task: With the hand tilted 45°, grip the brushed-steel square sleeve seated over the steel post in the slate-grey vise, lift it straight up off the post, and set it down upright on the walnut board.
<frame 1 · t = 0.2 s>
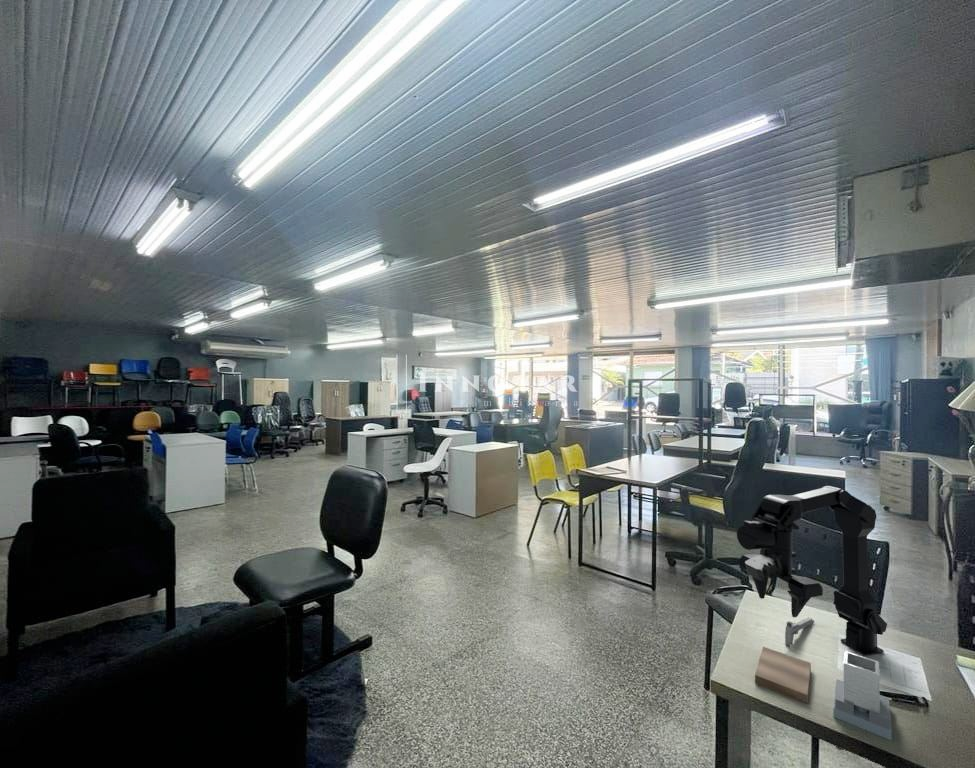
hand: (777, 607, 107), 14 cm above the table, tool pointing down, fingers open, 9 cm apart
caliper: (800, 634, 120), on the table
steel sleeve: (861, 699, 89), point 4 cm above the table, touching vise
walnut board: (783, 676, 102), on the table
vise: (861, 718, 89), on the table
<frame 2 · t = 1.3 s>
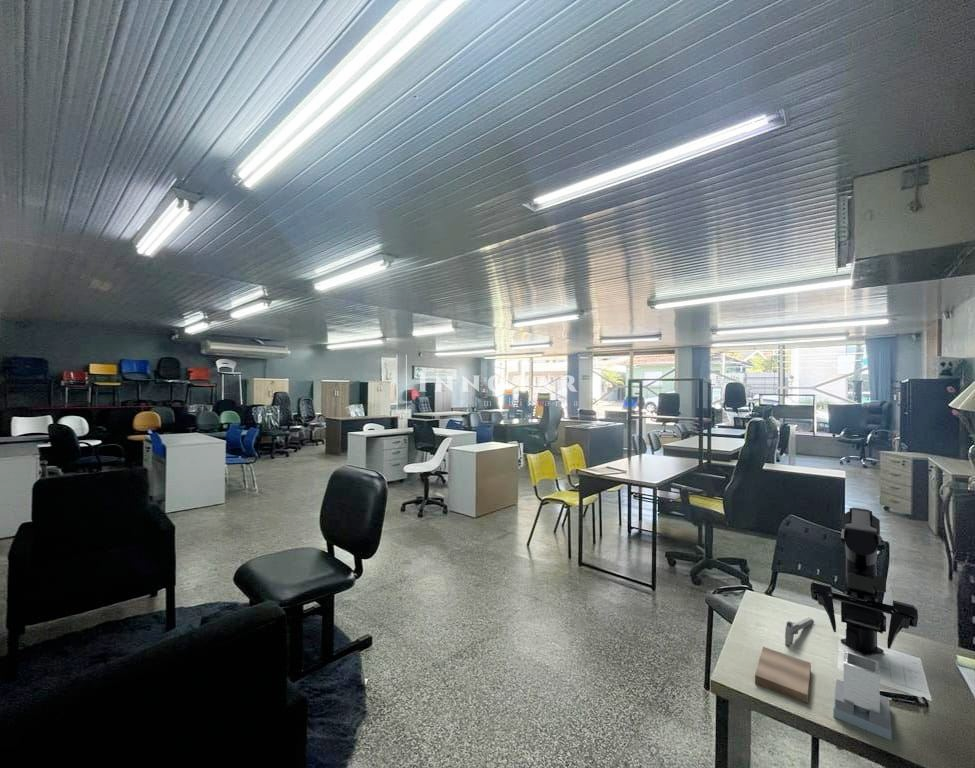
hand: (860, 639, 95), 13 cm above the table, tool tilted 45°, fingers open, 9 cm apart
nothing on the table moved.
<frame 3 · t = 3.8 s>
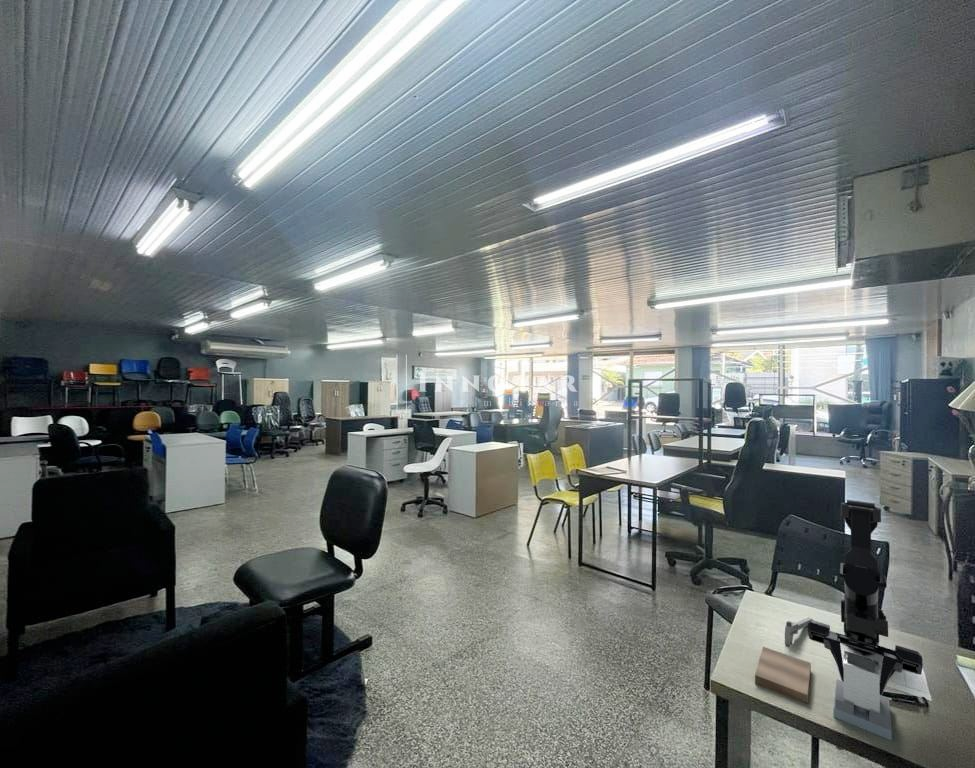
hand: (861, 687, 88), 7 cm above the table, tool tilted 45°, fingers closed on steel sleeve, 6 cm apart
steel sleeve: (861, 699, 89), point 4 cm above the table, touching gripper, vise
everything else where it was.
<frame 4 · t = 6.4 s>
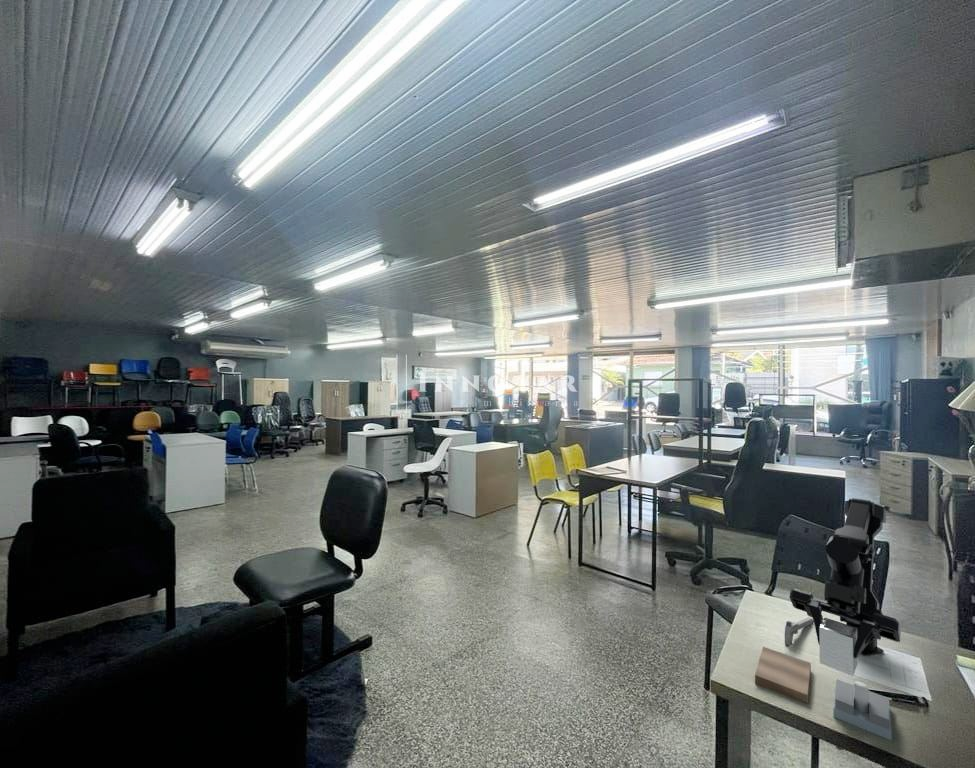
hand: (836, 651, 91), 14 cm above the table, tool tilted 45°, fingers closed on steel sleeve, 6 cm apart
steel sleeve: (838, 663, 92), point 10 cm above the table, touching gripper
everything else where it was.
when the fingers open (7 cm above the table, at t = 8.9 s): steel sleeve drops 1 cm, resting on walnut board.
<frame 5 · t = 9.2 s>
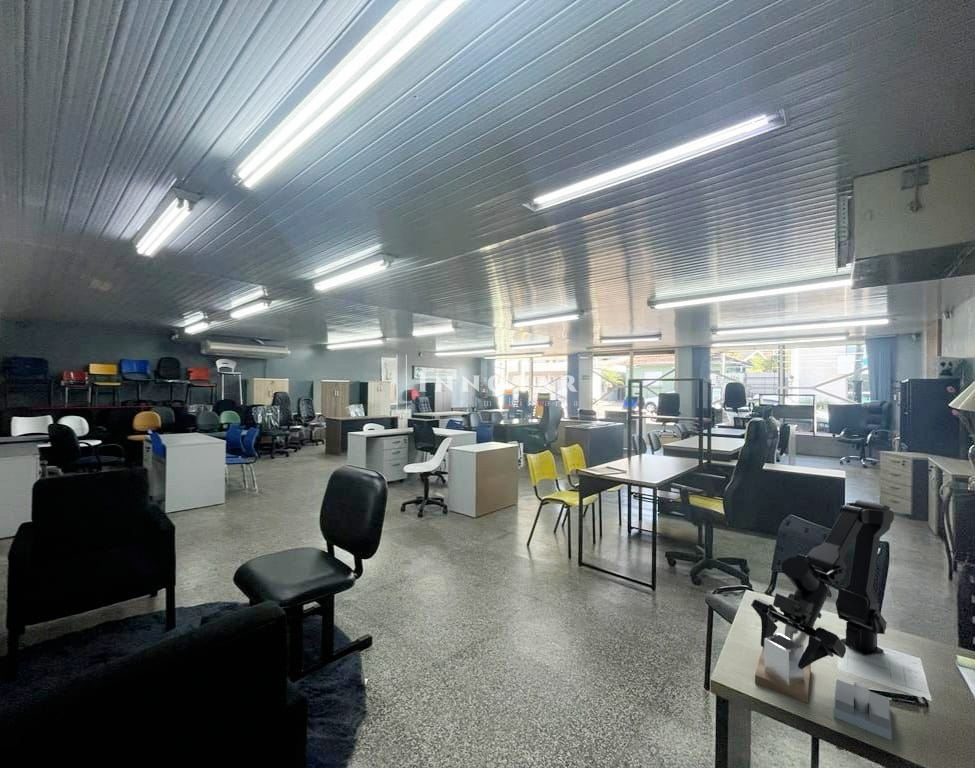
hand: (780, 656, 99), 7 cm above the table, tool tilted 45°, fingers open, 8 cm apart
steel sleeve: (783, 675, 99), point 2 cm above the table, touching walnut board
everything else where it was.
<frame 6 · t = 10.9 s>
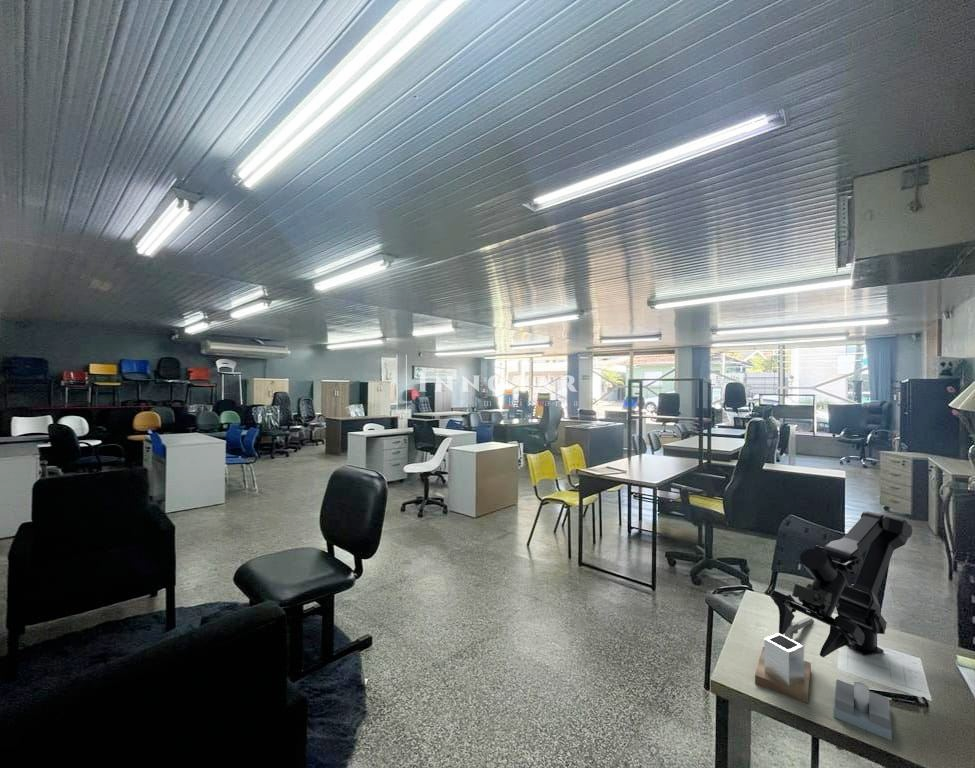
hand: (800, 645, 102), 8 cm above the table, tool tilted 45°, fingers open, 9 cm apart
nothing on the table moved.
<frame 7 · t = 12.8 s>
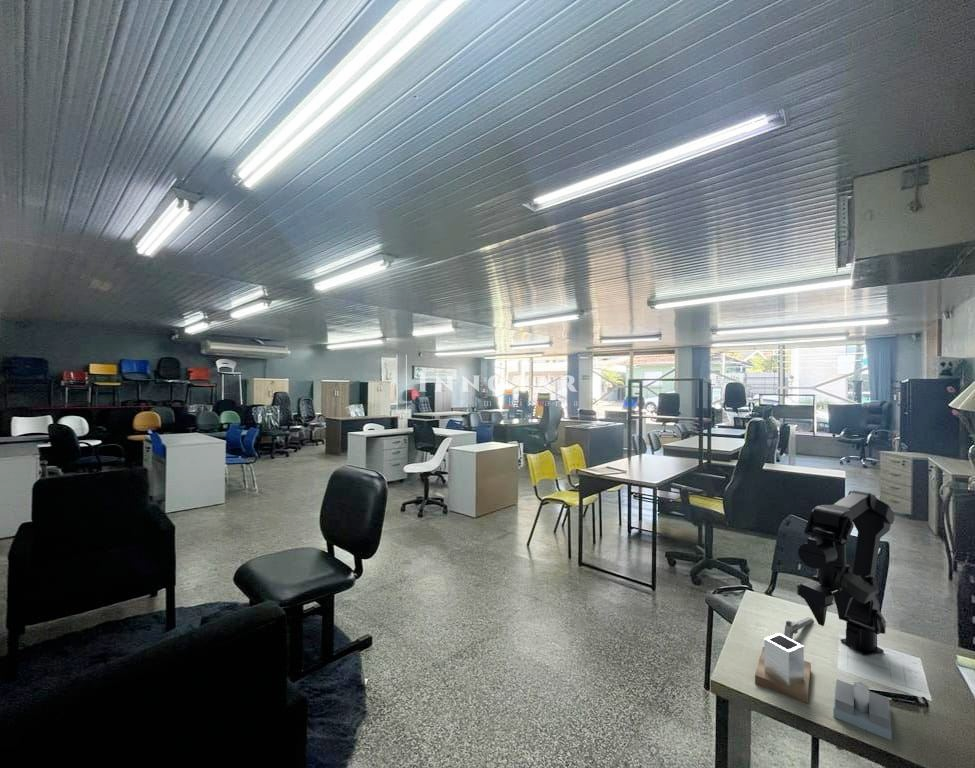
hand: (832, 620, 105), 12 cm above the table, tool pointing down, fingers open, 9 cm apart
nothing on the table moved.
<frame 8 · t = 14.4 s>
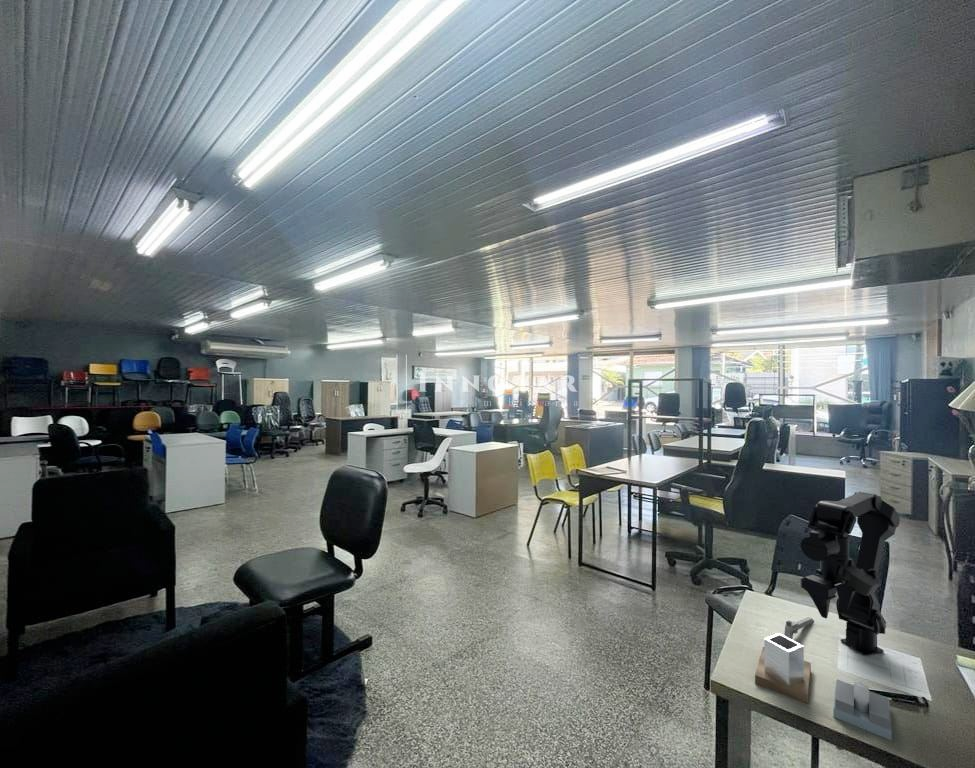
hand: (834, 613, 106), 13 cm above the table, tool pointing down, fingers open, 9 cm apart
nothing on the table moved.
at the end: steel sleeve inside the target area on the walnut board (0.7 cm from its centre), point 2.0 cm above the walnut board's base; steel sleeve tilted 0°; the gripper is holding nothing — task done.
